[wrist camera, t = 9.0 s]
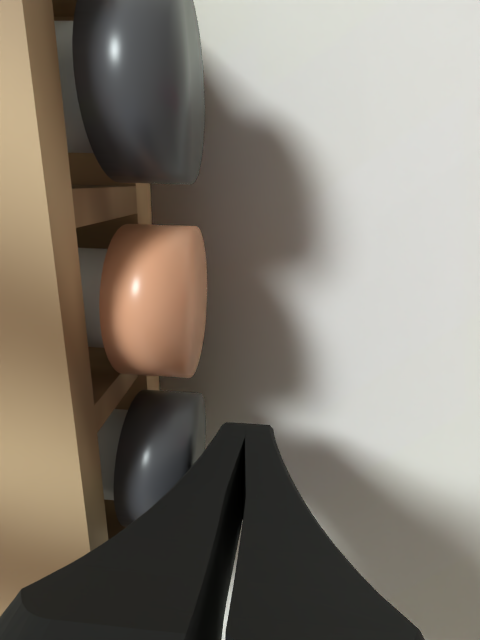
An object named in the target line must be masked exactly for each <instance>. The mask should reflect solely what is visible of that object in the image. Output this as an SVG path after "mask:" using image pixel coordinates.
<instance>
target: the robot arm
mask: <svg viewBox="0 0 480 640" xmlns="http://www.w3.org/2000/svg"><path fill="white" fill-rule="evenodd" d="M242 519H243V524H242ZM241 525H242V531H241V538H240V546H239V553H238V559H237V566H236V573H235V579H234V586H233V592H232V598H231V604H230V610H229V616H228V621H227V627H226V640H424V638H423V636H422V634H421V632H420V630H419V629H418V628H417V627H416V626H415V625H413V624H412V623H411V622H410V621H409V620H408V619H407V618H406V617H404V616H403V615H402V614H401V613H400V612H399V611H398V610H397V609H395V608H394V607H393V606H392V605H391V604H390V603H389V602H388V601H386V600H385V599H384V598H383V597H382V596H381V595H380V594H379V593H378V592H377V591H376V590H375V589H374V588H373V587H372V586H371V585H370V584H369V583H368V582H367V581H366V580H365V579H364V578H363V577H362V576H361V575H360V574H359V573H358V571H357V570H356V569H355V568H354V567H353V566H352V565H351V563H350V562H349V561H348V560H347V559H346V558H345V556H344V555H343V554H342V553H341V552H340V551H339V549H338V548H337V547H336V546H335V545H334V544H333V542H332V541H331V540H330V538H329V537H328V536H327V534H326V533H325V532H324V530H323V529H322V528H321V526H320V525H319V523H318V522H317V520H316V519H315V518H314V516H313V515H312V513H311V512H310V510H309V509H308V507H307V505H306V504H305V502H304V500H303V499H302V497H301V495H300V493H299V492H298V490H297V488H296V486H295V485H294V483H293V481H292V479H291V477H290V475H289V473H288V470H287V468H286V466H285V464H284V462H283V460H282V457H281V455H280V452H279V449H278V447H277V444H276V441H275V437H274V432H273V428H272V427H271V426H270V425H259V424H244V423H228V422H226V423H224V424H223V425H222V426H221V428H220V429H219V431H218V433H217V434H216V436H215V437H214V439H213V440H212V441H211V443H210V444H209V445H208V447H207V448H206V449H205V451H204V452H203V453H202V454H201V456H200V457H199V458H198V459H197V461H196V462H195V463H194V464H193V466H192V467H191V468H190V469H189V470H188V471H187V472H186V473H185V474H184V475H183V477H182V478H181V479H180V480H179V481H178V482H177V483H176V484H175V485H174V486H173V487H172V488H171V489H170V490H169V491H168V492H167V493H166V494H165V495H164V496H163V497H162V498H161V499H160V500H159V501H158V502H156V503H155V504H154V505H153V506H152V507H151V508H150V509H149V510H147V511H146V512H145V513H144V514H142V515H141V516H140V517H139V518H137V519H136V520H135V521H134V522H132V523H131V524H130V525H129V526H127V527H126V528H125V529H123V530H122V531H121V532H119V533H118V534H116V535H115V536H114V537H112V538H111V539H109V540H108V541H106V542H105V543H103V544H102V545H100V546H98V547H97V548H95V549H94V550H92V551H90V552H89V553H87V554H85V555H84V556H82V557H81V558H79V559H77V560H75V561H74V562H72V563H70V564H68V565H67V566H65V567H63V568H61V569H59V570H57V571H55V572H53V573H51V574H49V575H47V576H46V577H44V578H42V579H40V580H38V581H36V582H34V583H32V584H30V585H28V586H26V587H24V588H22V589H21V590H20V591H19V593H18V594H17V596H16V597H15V598H14V600H13V601H12V602H11V603H10V605H9V606H8V607H7V608H6V610H5V611H4V612H3V614H2V615H1V616H0V640H221V638H222V629H223V620H224V614H225V607H226V601H227V596H228V591H229V586H230V580H231V575H232V570H233V565H234V560H235V555H236V550H237V545H238V540H239V535H240V530H241Z"/></svg>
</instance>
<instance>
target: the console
mask: <svg viewBox="0 0 480 640" xmlns="http://www.w3.org/2000/svg"><path fill="white" fill-rule="evenodd" d="M76 3H77V0H0V616H1V615H2V614H3V612H4V611H5V610H6V608H7V607H8V606H9V605H10V603H11V602H12V601H13V600H14V598H15V597H16V596H17V594H18V593H19V591H20V590H21V589H22V588H24V587H26V586H28V585H30V584H32V583H34V582H36V581H38V580H40V579H42V578H44V577H46V576H47V575H49V574H51V573H53V572H55V571H57V570H59V569H61V568H63V567H65V566H67V565H68V564H70V563H72V562H74V561H75V560H77V559H79V558H81V557H82V556H84V555H85V554H87V553H89V552H90V551H92V550H94V549H95V548H97V547H98V546H100V545H102V544H103V543H105V542H106V541H108V540H109V539H111V538H112V537H114V536H115V535H116V534H118V533H119V532H121V531H122V530H123V529H125V528H126V527H124V526H122V525H121V524H120V523H119V521H118V519H117V516H116V512H115V506H114V500H105V499H104V493H103V484H102V474H101V464H100V455H99V445H98V436H97V433H98V431H99V430H100V429H101V427H102V426H103V424H104V423H105V422H106V420H107V419H108V417H109V416H110V415H111V413H112V412H113V410H114V409H123V410H128V409H129V407H130V405H131V403H132V401H133V399H134V398H135V396H136V395H137V394H138V393H139V392H140V391H141V390H160V389H159V376H148V375H131V374H120V373H118V372H117V371H116V370H114V368H113V367H112V366H111V364H110V362H109V360H108V358H107V355H106V352H105V349H104V348H100V347H88V340H87V330H86V321H85V311H84V302H83V292H82V282H81V273H80V263H79V254H78V248H96V249H108V246H109V244H110V242H111V239H112V238H113V236H114V234H115V233H116V231H117V230H118V229H119V228H120V227H121V226H123V225H125V224H149V225H152V213H151V191H150V183H119V182H115V181H113V180H112V179H111V178H109V177H108V176H107V174H106V173H105V172H104V171H103V169H102V168H101V166H100V165H99V163H98V161H97V159H96V157H95V155H94V153H68V148H67V139H66V129H65V120H64V110H63V100H62V91H61V81H60V72H59V62H58V53H57V43H56V33H55V24H54V21H73V20H74V12H75V7H76Z"/></svg>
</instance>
